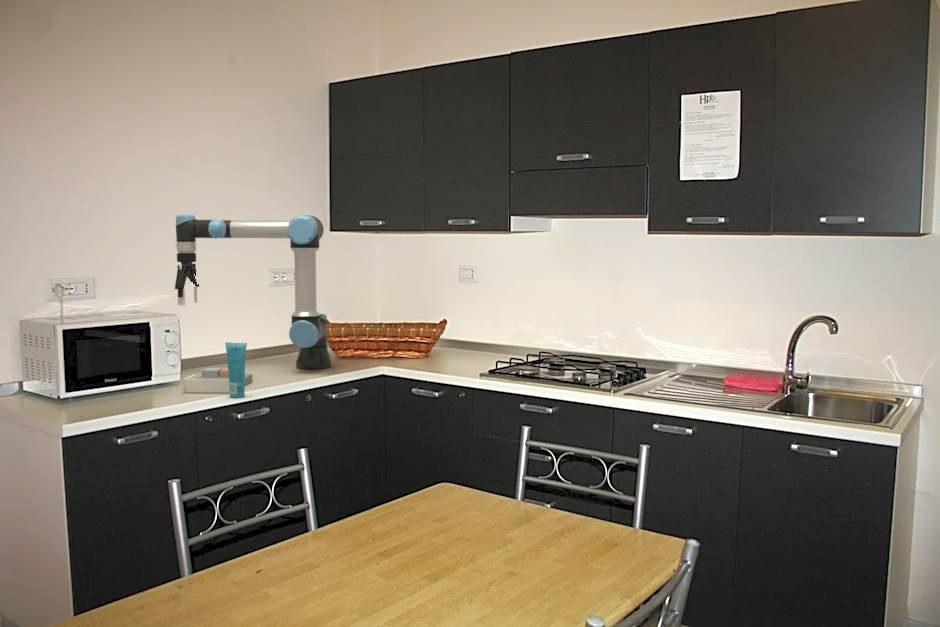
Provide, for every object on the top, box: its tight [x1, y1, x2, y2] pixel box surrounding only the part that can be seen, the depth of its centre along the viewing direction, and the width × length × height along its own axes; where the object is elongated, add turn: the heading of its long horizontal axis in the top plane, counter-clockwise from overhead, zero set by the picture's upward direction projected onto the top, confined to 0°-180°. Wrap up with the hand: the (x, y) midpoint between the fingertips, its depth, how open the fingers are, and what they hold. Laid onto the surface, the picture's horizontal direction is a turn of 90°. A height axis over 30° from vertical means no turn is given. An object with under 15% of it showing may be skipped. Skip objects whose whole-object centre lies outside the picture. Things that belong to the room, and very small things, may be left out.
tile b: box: [201, 367, 224, 377], centre depth 310 cm, size 6×6×2 cm
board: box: [196, 373, 253, 387], centre depth 308 cm, size 18×13×3 cm
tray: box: [182, 373, 230, 395], centre depth 297 cm, size 18×11×5 cm, turn 89°
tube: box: [225, 342, 248, 398], centre depth 285 cm, size 7×5×19 cm, turn 96°
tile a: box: [220, 367, 229, 377], centre depth 310 cm, size 6×6×2 cm
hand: (187, 303), depth 336 cm, fingers open, 13 cm apart
